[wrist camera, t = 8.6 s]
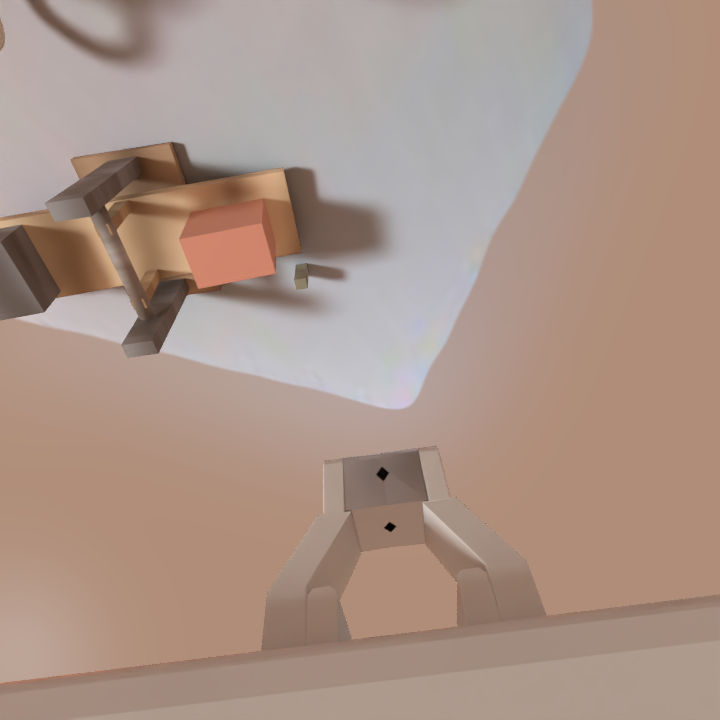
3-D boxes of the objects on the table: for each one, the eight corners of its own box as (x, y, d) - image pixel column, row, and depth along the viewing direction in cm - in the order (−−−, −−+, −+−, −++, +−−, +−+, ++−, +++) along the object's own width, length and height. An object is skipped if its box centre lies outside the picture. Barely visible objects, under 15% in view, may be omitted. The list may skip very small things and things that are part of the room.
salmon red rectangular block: (207, 257, 40) (198, 288, 36) (190, 212, 38) (178, 239, 33) (275, 243, 41) (275, 273, 36) (263, 198, 38) (261, 223, 33)
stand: (141, 297, 45) (95, 367, 36) (74, 157, 38) (-4, 202, 29) (308, 272, 45) (304, 337, 36) (276, 125, 37) (260, 160, 28)
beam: (17, 309, 42) (-21, 351, 37) (-46, 213, 37) (-101, 246, 31) (302, 256, 43) (306, 289, 38) (280, 155, 38) (281, 177, 32)
